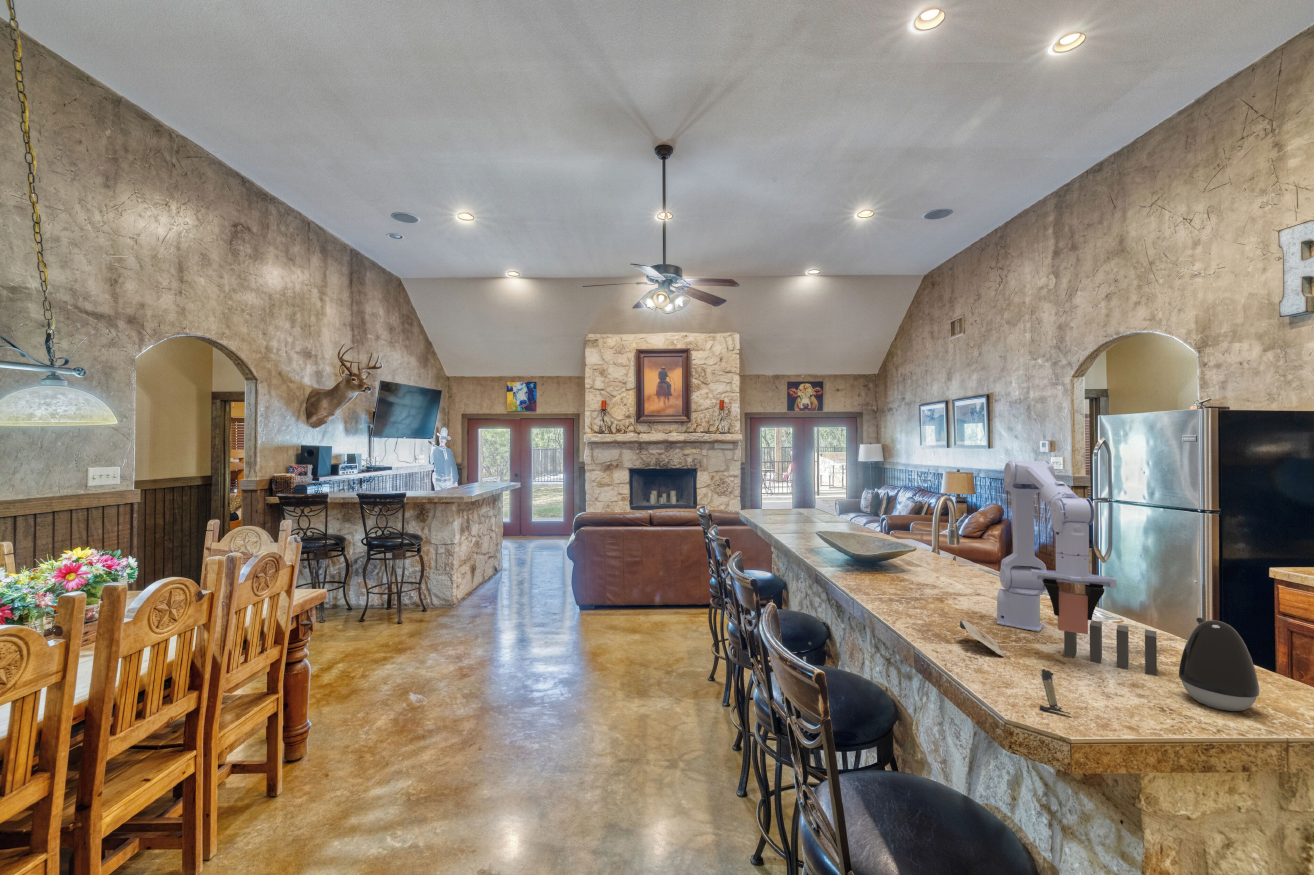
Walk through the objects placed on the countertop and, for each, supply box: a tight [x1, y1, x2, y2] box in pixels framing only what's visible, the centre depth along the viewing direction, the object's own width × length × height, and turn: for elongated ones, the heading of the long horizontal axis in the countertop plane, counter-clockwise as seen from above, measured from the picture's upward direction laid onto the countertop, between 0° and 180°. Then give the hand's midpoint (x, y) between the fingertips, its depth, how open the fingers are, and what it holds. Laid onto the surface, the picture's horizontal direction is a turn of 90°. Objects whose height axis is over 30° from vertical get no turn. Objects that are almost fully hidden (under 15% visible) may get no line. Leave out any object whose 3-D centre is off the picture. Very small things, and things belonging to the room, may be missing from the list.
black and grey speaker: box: [1178, 617, 1260, 712], centre depth 99 cm, size 10×10×15 cm
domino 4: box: [1144, 629, 1158, 677], centre depth 113 cm, size 2×5×8 cm, turn 137°
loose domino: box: [1057, 590, 1089, 635], centre depth 116 cm, size 2×5×8 cm, turn 61°
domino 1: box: [1063, 631, 1078, 659], centre depth 123 cm, size 2×5×8 cm, turn 137°
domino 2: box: [1089, 619, 1103, 665], centre depth 120 cm, size 2×5×8 cm, turn 137°
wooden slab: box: [959, 620, 1006, 657], centre depth 126 cm, size 11×4×12 cm
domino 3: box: [1115, 624, 1130, 671], centre depth 117 cm, size 2×5×8 cm, turn 137°
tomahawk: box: [1039, 668, 1073, 719], centre depth 101 cm, size 21×7×1 cm, turn 145°
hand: (1072, 616), depth 116 cm, fingers closed on loose domino, 5 cm apart
